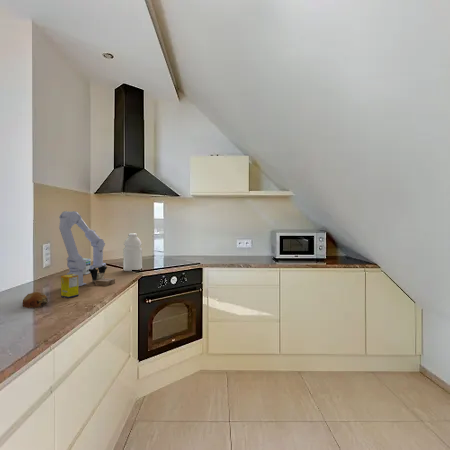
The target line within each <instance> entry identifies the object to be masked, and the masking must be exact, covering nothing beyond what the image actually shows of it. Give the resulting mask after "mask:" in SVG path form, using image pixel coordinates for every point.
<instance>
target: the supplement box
mask: <svg viewBox="0 0 450 450" xmlns="http://www.w3.org/2000/svg"><path fill="white" fill-rule="evenodd" d="M60 291H61V292H60V294H61V295H60V297H61V298H64V297H65V299H71V298H75V297H79V287H78V275H74V274H69V275H66V274H65V275H61V276H60Z"/></svg>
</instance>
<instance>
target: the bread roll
mask: <svg viewBox="0 0 450 450" xmlns="http://www.w3.org/2000/svg"><path fill="white" fill-rule="evenodd" d="M48 301H49V300H48V296H47V295H46V294H44V293H43V292H40V291H33V292H30V293H27V295H26V296H25V297H24V298H23V300H22V307H23V308H26V309H37V308H41V307H42V308H43V307H45V306H46V305H48Z"/></svg>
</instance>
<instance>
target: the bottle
mask: <svg viewBox="0 0 450 450" xmlns="http://www.w3.org/2000/svg"><path fill="white" fill-rule="evenodd" d="M123 245H124V247H123V249H122V250H123V271H124V272H133V271H132V270H138V269H141V268H142V269H143V248H142V245H143V243H142V241H141V239H140V238H139V237H138V233H135V232H134V233H128V237H127V238H126V239H125V241H124V242H123Z"/></svg>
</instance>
